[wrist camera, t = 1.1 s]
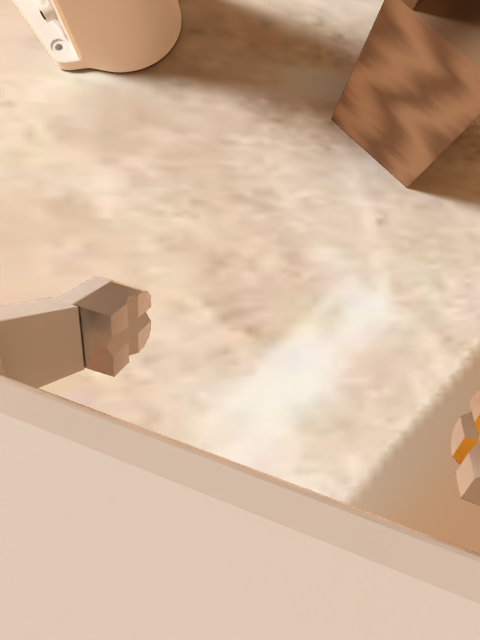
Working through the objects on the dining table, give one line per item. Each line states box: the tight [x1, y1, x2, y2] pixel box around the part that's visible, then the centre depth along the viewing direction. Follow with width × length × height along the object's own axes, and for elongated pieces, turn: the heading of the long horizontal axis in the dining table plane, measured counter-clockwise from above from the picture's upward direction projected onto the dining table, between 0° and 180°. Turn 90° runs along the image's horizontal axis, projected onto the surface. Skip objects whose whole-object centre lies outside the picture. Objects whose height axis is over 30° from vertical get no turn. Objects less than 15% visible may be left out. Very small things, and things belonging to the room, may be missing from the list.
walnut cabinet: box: [332, 0, 480, 188], centre depth 32 cm, size 12×12×27 cm
